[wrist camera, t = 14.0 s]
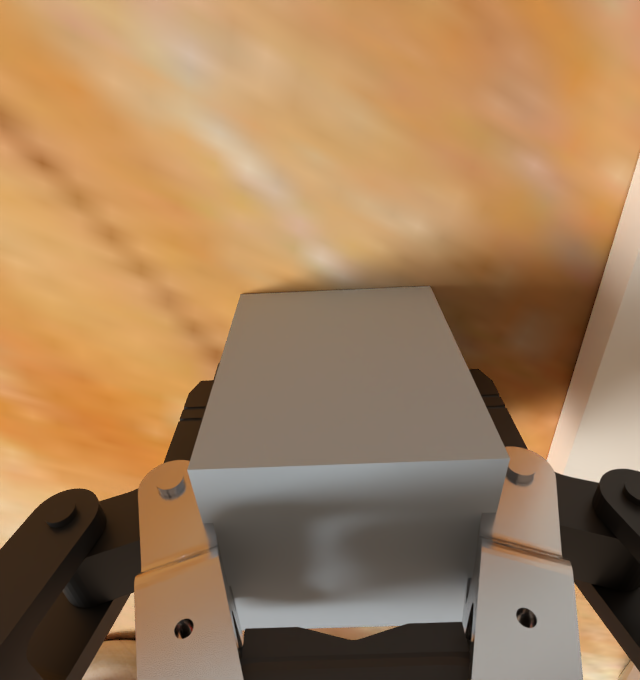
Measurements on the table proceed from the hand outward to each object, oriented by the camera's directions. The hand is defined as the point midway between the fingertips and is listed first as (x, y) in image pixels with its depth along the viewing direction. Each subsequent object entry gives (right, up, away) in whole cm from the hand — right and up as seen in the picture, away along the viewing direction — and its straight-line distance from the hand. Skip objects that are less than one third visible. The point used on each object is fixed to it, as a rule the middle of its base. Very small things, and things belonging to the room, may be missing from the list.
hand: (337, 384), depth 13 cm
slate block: (0, 0, +1) cm, 1 cm away
